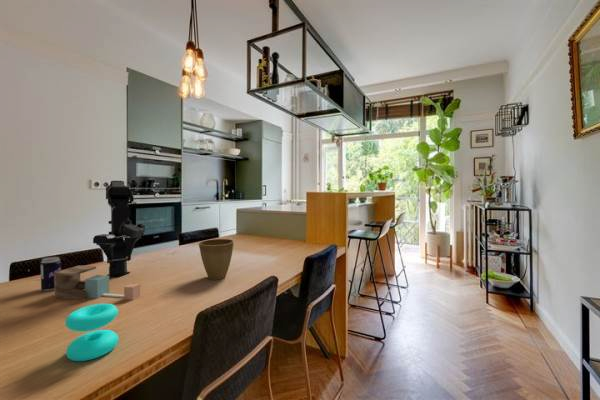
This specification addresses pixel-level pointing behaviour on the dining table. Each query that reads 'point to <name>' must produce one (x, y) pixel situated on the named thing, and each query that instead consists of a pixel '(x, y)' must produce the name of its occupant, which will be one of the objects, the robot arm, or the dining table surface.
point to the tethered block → (100, 287)
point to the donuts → (93, 341)
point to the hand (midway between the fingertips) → (120, 257)
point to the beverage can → (49, 272)
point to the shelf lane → (70, 282)
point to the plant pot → (216, 257)
